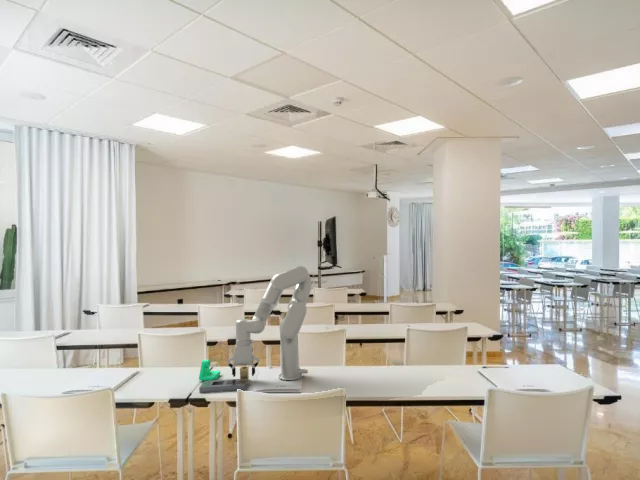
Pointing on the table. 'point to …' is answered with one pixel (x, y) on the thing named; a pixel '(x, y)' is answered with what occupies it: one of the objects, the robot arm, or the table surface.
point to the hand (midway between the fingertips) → (243, 375)
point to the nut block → (244, 373)
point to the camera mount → (207, 371)
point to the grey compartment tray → (223, 385)
